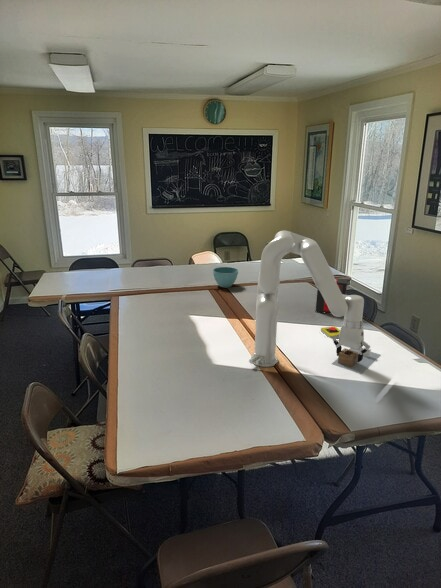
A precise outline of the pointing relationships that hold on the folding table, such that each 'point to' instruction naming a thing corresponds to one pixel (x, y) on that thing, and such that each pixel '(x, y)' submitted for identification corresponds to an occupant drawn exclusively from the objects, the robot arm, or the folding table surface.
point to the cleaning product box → (320, 302)
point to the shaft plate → (362, 365)
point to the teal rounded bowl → (225, 276)
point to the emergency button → (330, 331)
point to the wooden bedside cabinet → (348, 357)
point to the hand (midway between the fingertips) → (348, 358)
